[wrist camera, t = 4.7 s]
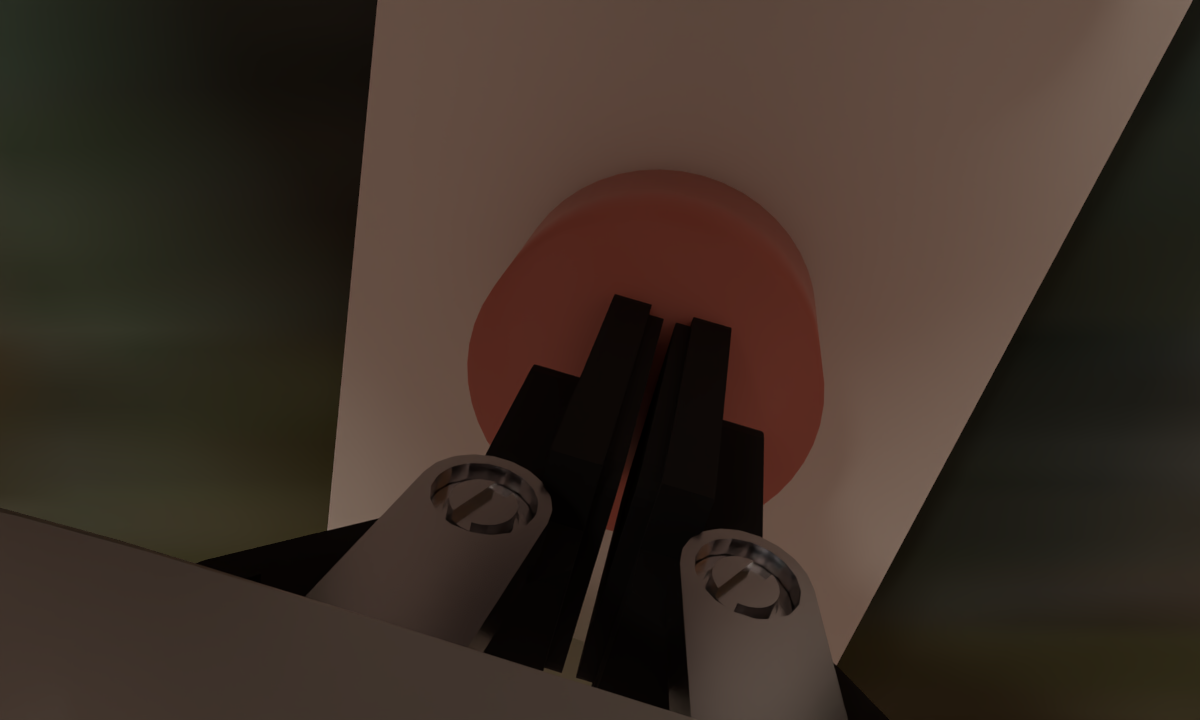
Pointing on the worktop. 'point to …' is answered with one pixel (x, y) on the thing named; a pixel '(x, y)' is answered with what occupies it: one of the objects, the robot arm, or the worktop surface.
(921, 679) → the worktop surface
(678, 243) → the button red
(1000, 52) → the console
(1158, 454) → the worktop surface
